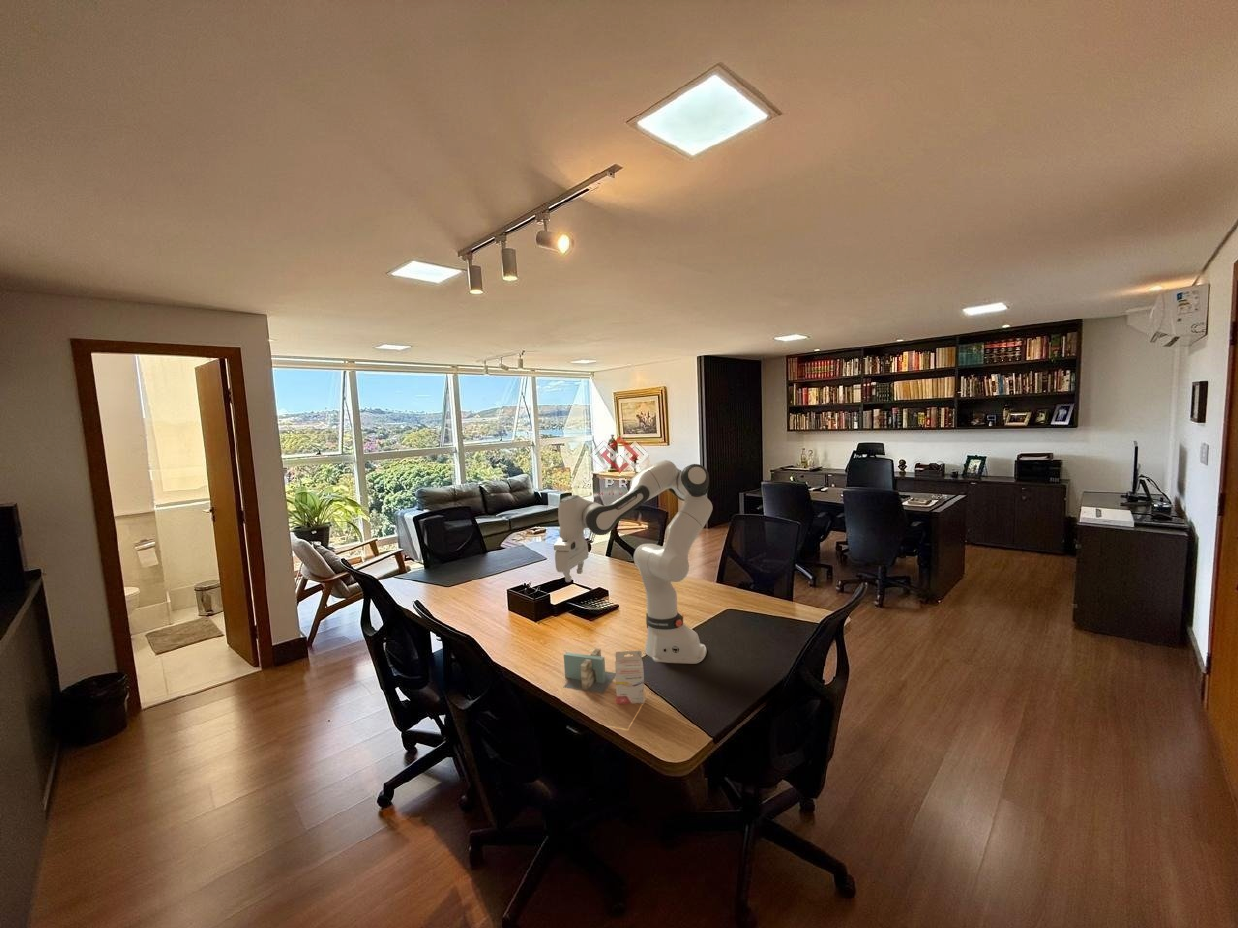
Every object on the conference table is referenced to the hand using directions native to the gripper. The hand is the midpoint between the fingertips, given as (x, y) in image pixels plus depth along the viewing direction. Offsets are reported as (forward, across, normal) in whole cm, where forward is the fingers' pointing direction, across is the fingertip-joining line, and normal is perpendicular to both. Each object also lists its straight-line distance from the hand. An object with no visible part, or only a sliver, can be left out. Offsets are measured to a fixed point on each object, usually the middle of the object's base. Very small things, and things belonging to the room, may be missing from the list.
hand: (574, 577), depth 181 cm
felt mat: (+29, +17, +12) cm, 36 cm away
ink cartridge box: (+29, +24, +29) cm, 48 cm away
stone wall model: (+29, +17, +13) cm, 36 cm away
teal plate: (+29, +17, +10) cm, 35 cm away
